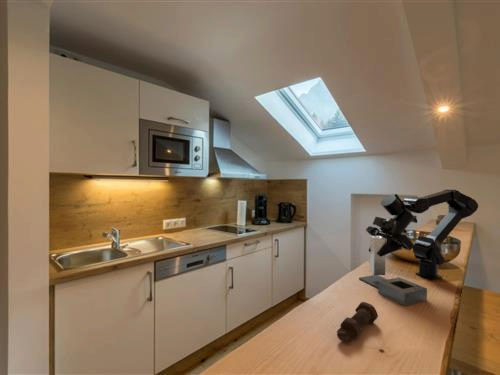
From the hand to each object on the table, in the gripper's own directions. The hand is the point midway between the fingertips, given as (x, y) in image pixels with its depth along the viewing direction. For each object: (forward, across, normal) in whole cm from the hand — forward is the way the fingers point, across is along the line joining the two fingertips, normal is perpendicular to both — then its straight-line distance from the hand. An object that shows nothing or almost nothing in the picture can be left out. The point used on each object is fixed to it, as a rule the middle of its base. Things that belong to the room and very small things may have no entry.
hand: (374, 253), depth 96 cm
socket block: (+7, +12, +8) cm, 16 cm away
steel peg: (+4, 0, +6) cm, 8 cm away
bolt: (+27, +25, -11) cm, 38 cm away
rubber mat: (+7, 0, +9) cm, 11 cm away
